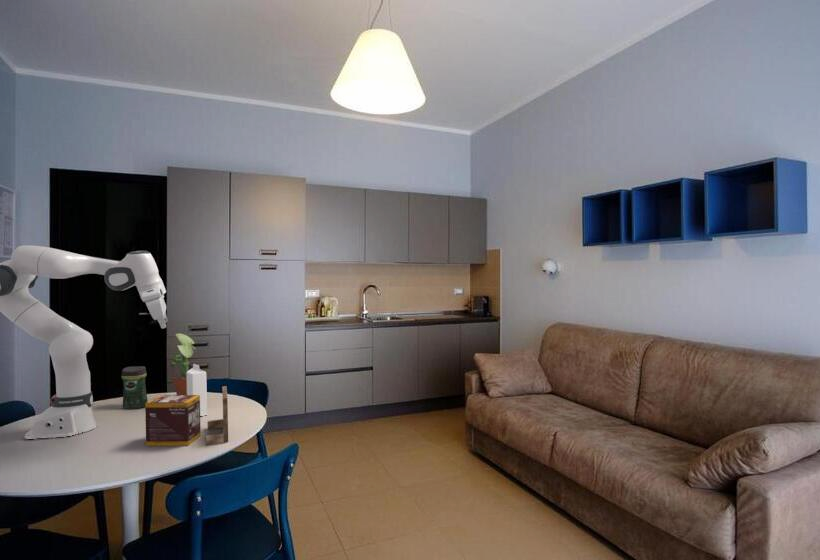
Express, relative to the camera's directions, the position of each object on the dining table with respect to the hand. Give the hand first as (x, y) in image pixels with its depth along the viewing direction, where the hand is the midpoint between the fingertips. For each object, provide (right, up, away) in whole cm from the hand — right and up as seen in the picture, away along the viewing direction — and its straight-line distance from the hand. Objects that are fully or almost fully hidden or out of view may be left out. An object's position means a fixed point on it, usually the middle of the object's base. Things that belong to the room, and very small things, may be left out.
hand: (164, 325), depth 185 cm
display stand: (+22, -41, -5) cm, 47 cm away
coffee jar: (-30, -41, +33) cm, 61 cm away
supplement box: (+9, -42, -11) cm, 44 cm away
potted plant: (-7, -40, +36) cm, 54 cm away
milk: (+4, -41, +19) cm, 45 cm away
